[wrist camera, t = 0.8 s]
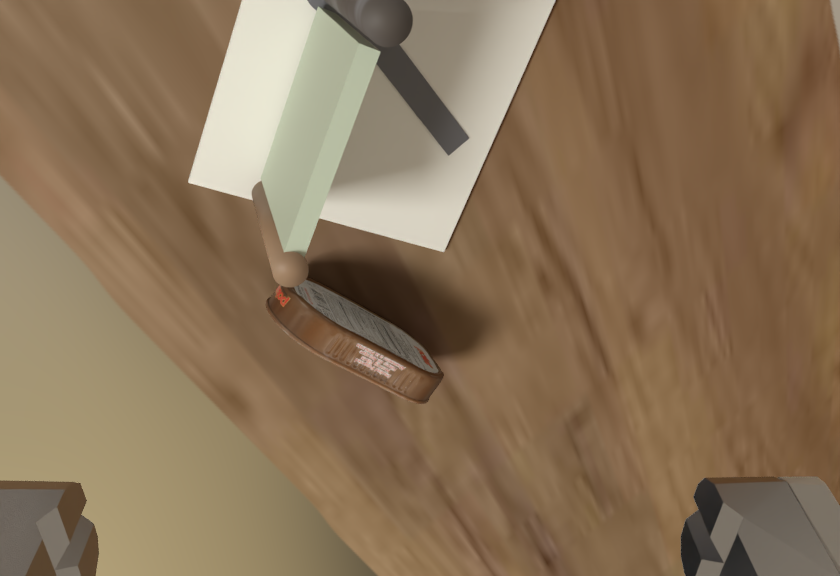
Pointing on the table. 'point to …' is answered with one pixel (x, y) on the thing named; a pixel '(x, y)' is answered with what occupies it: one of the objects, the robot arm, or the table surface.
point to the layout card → (379, 110)
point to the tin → (355, 339)
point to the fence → (377, 19)
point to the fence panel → (311, 141)
